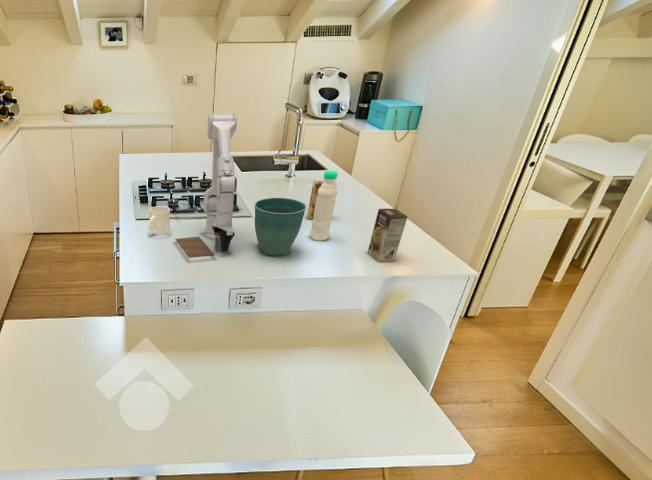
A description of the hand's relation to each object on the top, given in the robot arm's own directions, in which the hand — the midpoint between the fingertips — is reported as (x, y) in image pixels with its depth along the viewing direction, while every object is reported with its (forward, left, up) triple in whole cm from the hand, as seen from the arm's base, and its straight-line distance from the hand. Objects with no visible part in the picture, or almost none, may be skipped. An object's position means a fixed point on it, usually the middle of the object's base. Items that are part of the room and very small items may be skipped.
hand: (221, 247), depth 189 cm
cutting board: (+7, -8, -2) cm, 11 cm away
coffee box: (-46, +35, -2) cm, 58 cm away
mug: (+10, -29, -2) cm, 31 cm away
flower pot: (-18, +9, -2) cm, 20 cm away
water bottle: (-42, +9, -2) cm, 43 cm away
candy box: (-60, -8, -2) cm, 61 cm away
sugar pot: (0, 0, -2) cm, 2 cm away
